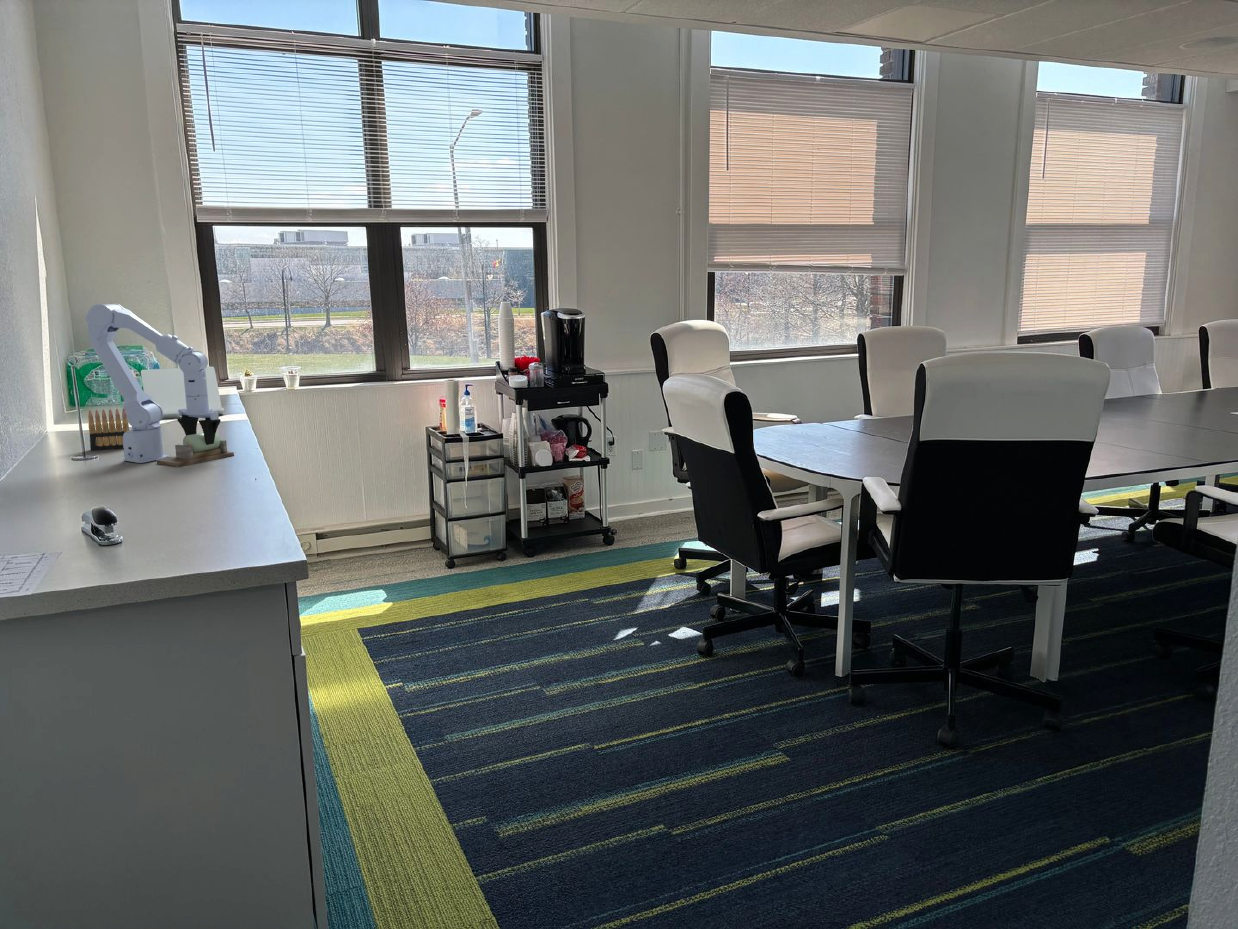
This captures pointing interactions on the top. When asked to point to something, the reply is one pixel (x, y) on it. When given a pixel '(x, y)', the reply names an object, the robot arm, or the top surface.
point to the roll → (200, 442)
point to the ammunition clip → (107, 430)
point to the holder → (195, 455)
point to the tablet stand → (177, 390)
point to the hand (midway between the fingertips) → (201, 443)
